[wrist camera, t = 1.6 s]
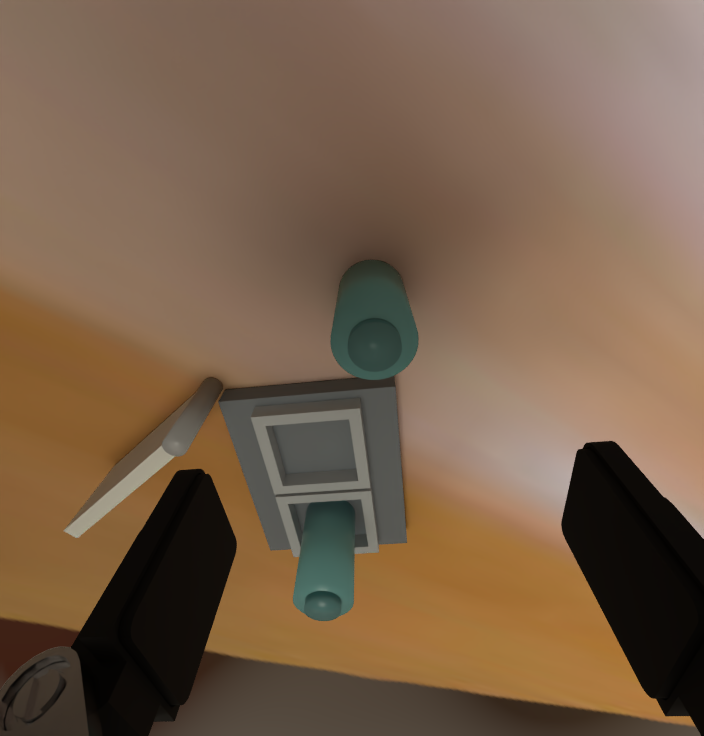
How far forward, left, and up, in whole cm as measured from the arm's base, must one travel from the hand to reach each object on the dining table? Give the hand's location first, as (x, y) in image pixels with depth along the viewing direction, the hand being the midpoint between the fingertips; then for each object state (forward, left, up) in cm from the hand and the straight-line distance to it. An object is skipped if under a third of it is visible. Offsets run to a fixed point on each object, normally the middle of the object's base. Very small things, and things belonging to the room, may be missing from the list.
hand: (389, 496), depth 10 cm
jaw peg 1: (+17, -5, -14) cm, 23 cm away
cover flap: (+9, -17, -16) cm, 24 cm away
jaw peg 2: (0, 0, -16) cm, 16 cm away
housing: (+14, -5, -16) cm, 21 cm away
